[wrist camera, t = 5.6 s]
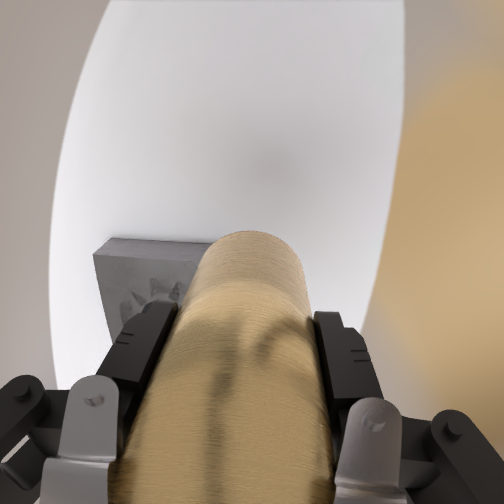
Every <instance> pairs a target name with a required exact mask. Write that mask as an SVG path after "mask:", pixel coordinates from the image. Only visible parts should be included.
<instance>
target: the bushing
mask: <svg viewBox="0 0 504 504" xmlns="http://www.w3.org/2000/svg"><path fill="white" fill-rule="evenodd" d="M334 470H335V458H334V450H333V443H332V435H331V428H330V421H329V414H328V408H327V401H326V395H325V388H324V382H323V376H322V370H321V364H320V358H319V352H318V346H317V341H316V335H315V330H314V324H313V319H312V313H311V308H310V303H309V298H308V293H307V288H306V283H305V278H304V273H303V268H302V265H301V262H300V260H299V258H298V257H297V255H296V253H295V252H294V251H293V250H292V248H290V247H289V246H288V245H287V244H286V243H285V242H283V241H282V240H280V239H279V238H277V237H275V236H273V235H270V234H267V233H263V232H258V231H240V232H235V233H231V234H229V235H226V236H224V237H222V238H220V239H219V240H217V241H216V242H215V243H213V244H212V245H211V246H210V247H209V248H208V249H207V251H206V252H205V253H204V255H203V257H202V259H201V261H200V263H199V266H198V268H197V270H196V272H195V274H194V277H193V279H192V281H191V283H190V286H189V288H188V290H187V292H186V295H185V297H184V299H183V302H182V304H181V306H180V308H179V311H178V313H177V315H176V318H175V320H174V322H173V325H172V327H171V329H170V332H169V334H168V337H167V339H166V341H165V344H164V346H163V349H162V351H161V353H160V356H159V358H158V361H157V363H156V366H155V368H154V371H153V373H152V376H151V378H150V380H149V383H148V386H147V388H146V391H145V393H144V396H143V398H142V401H141V403H140V406H139V409H138V411H137V414H136V416H135V419H134V422H133V424H132V427H131V430H130V432H129V435H128V438H127V440H126V443H125V446H124V449H123V451H122V454H121V458H120V461H119V465H118V470H117V475H116V481H115V487H114V496H113V503H114V504H330V499H331V493H332V486H333V480H334Z"/></svg>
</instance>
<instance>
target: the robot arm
mask: <svg viewBox="0 0 504 504" xmlns="http://www.w3.org/2000/svg"><path fill="white" fill-rule="evenodd" d="M178 311H179V307H178V303H177V302H174V301H164V300H154V301H153V302H152V304H151V305H150V307H149V309H148V311H147V312H146V314H144V313H137V314H136V315H135V316H133V317H132V318H131V319H129V320H128V321H127V322H126V324H125V325H124V327H123V328H122V330H121V332H120V334H119V335H118V337H117V338H116V340H115V343H113V345H112V347H111V348H110V350H109V352H108V354H107V355H106V357H105V359H104V360H103V362H102V364H101V366H100V367H99V369H98V371H97V373H96V374H95V375H91V376H87V377H84V378H82V379H80V380H78V381H77V382H76V383H75V384H74V385H73V386H72V387H71V389H70V390H45V388H44V387H43V385H42V383H41V381H40V380H39V379H38V378H36V377H34V376H31V375H21V376H18V377H16V378H14V379H12V380H11V381H9V382H8V383H7V384H6V385H5V386H4V387H3V388H1V389H0V504H34V503H35V501H36V500H37V499H38V498H39V497H40V503H39V504H114V503H113V496H114V487H115V481H116V475H117V470H118V465H119V461H120V458H121V454H122V451H123V449H124V446H125V443H126V440H127V438H128V435H129V432H130V430H131V427H132V424H133V422H134V419H135V416H136V414H137V411H138V409H139V406H140V403H141V401H142V398H143V396H144V393H145V391H146V388H147V386H148V383H149V380H150V378H151V376H152V373H153V371H154V368H155V366H156V363H157V361H158V358H159V356H160V353H161V351H162V349H163V346H164V344H165V341H166V339H167V337H168V334H169V332H170V329H171V327H172V325H173V322H174V320H175V318H176V315H177V313H178ZM313 324H314V330H315V335H316V341H317V346H318V352H319V358H320V364H321V370H322V376H323V382H324V388H325V395H326V401H327V408H328V414H329V421H330V428H331V435H332V443H333V450H334V458H335V470H334V480H333V486H332V493H331V499H330V504H504V461H503V460H502V458H501V457H500V456H499V454H498V453H497V452H496V451H495V449H494V448H493V447H492V446H491V444H490V443H489V442H488V441H487V439H486V438H485V437H484V435H483V434H482V433H481V432H480V431H479V429H478V428H477V427H476V426H475V424H474V423H473V422H472V421H471V420H470V418H469V417H468V416H466V415H465V414H464V413H462V412H459V411H456V410H444V411H441V412H439V413H438V414H437V415H436V416H435V417H434V418H433V420H432V421H427V420H420V419H413V418H408V417H404V416H401V414H400V412H399V410H398V409H397V408H396V407H395V406H394V405H393V404H392V403H390V402H389V401H387V400H384V397H383V394H382V391H381V388H380V385H379V382H378V379H377V376H376V373H375V370H374V367H373V364H372V362H371V358H370V355H369V353H368V352H367V347H366V344H365V341H364V338H363V337H362V336H361V335H360V334H359V333H358V332H357V331H356V330H355V329H354V328H344V326H343V323H342V320H341V317H340V314H339V312H322V311H316V312H315V314H314V318H313ZM26 435H27V436H28V437H29V438H30V439H29V440H28V441H27V442H26V443H25V444H24V445H23V446H22V447H21V448H20V449H19V450H18V451H17V452H16V453H15V454H14V455H13V456H12V457H11V458H10V459H9V460H8V461H7V462H5V463H1V460H2V459H3V458H4V457H5V456H6V455H7V454H8V453H9V452H10V451H11V450H12V449H13V448H14V447H15V446H16V445H17V444H18V443H19V442H20V441H21V440H22V438H24V437H25V436H26Z"/></svg>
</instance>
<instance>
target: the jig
mask: <svg viewBox="0 0 504 504" xmlns="http://www.w3.org/2000/svg"><path fill="white" fill-rule="evenodd" d="M211 245H212V244H204V243H186V242H169V241H151V240H133V239H114V238H111V239H110V240H108V241H107V242H106V243H105V244H104V245H103V246H101V247H100V248H99V249H98V250H97V251H96V252H95V253H93V259H94V265H95V270H96V275H97V280H98V285H99V290H100V295H101V299H102V304H103V308H104V312H105V316H106V320H107V324H108V328H109V332H110V336H111V339H112V343H115V340H116V338H117V337H118V335H119V334H120V332H121V330H122V328H123V327H124V325H125V324H126V322H127V321H128V320H129V319H131V318H132V317H133V316H135V315H136V314H137V313H144V314H146V312H147V311H148V309H149V307H150V305H151V304H152V302H153V301H154V300H164V301H174V302H177V303H178V307H179V308H180V306H181V304H182V302H183V299H184V297H185V295H186V292H187V290H188V288H189V286H190V283H191V281H192V279H193V277H194V274H195V272H196V270H197V268H198V266H199V263H200V261H201V259H202V257H203V255H204V253H205V252H206V251H207V249H208V248H209V247H210V246H211Z"/></svg>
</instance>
